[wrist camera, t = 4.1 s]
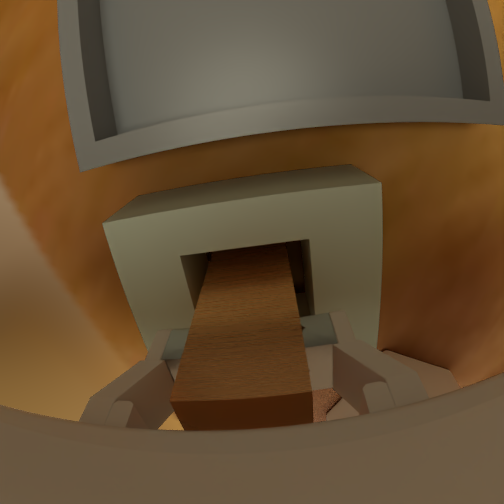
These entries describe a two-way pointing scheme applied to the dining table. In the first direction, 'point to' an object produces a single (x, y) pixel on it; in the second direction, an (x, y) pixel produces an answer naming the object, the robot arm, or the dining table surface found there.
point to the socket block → (254, 242)
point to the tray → (268, 68)
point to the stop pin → (244, 347)
